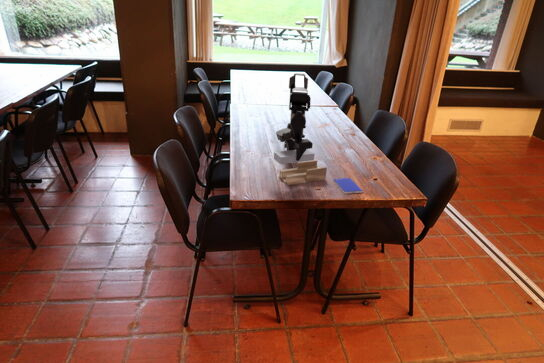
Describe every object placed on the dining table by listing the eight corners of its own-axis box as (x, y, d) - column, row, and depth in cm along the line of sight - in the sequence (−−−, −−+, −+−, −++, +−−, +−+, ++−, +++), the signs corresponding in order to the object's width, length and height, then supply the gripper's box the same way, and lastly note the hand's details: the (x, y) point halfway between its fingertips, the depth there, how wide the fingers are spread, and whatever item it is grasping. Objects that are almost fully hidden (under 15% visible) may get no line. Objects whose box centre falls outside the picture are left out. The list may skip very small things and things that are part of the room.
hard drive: (333, 178, 163) (345, 191, 152) (350, 177, 165) (362, 190, 154) (333, 181, 164) (344, 194, 153) (349, 180, 166) (362, 193, 155)
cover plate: (273, 158, 155) (274, 151, 154) (306, 154, 161) (307, 148, 160) (280, 164, 150) (280, 157, 149) (313, 160, 156) (314, 153, 155)
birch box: (278, 176, 164) (279, 164, 161) (315, 171, 171) (316, 160, 169) (287, 185, 157) (288, 172, 154) (325, 179, 164) (327, 167, 162)
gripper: (269, 117, 153) (267, 152, 160) (289, 130, 138) (286, 168, 144) (293, 115, 157) (290, 149, 164) (315, 128, 142) (311, 165, 149)
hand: (293, 157), depth 155 cm, fingers closed on cover plate, 6 cm apart
